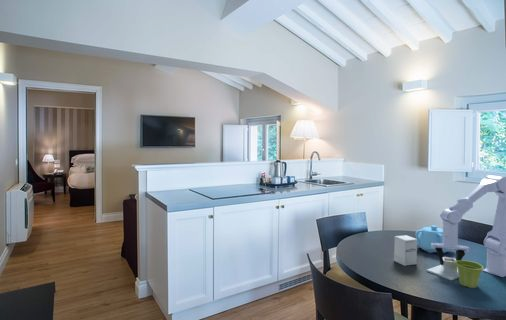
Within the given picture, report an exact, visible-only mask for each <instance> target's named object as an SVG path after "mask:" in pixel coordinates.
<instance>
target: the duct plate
mask: <svg viewBox="0 0 506 320" xmlns="http://www.w3.org/2000/svg"><path fill="white" fill-rule="evenodd" d="M447 261H448V260H447ZM426 272H428V273H430V274H434V275H435V276H439V277H441V278H444V279H446V280H449V281H454V280H457V279H459V274H458V267H457V273H450V272H444V271H443V270H442V268H441V264H439V265H436V266H434V267H430V268H428V269H426Z"/></svg>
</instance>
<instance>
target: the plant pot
mask: <svg viewBox="0 0 506 320" xmlns="http://www.w3.org/2000/svg"><path fill="white" fill-rule="evenodd" d="M456 264H457V267H458V274H459V278H458V282H459V284H460V285H461V286H463V287H467V288H468V289H469V288H470V289H476V288H478V285H479V280H480V278H481V277H480V276H481V273H482V272H483V269H484V266H483V264H480V263H478V262H475V261H471V260H466V259H465V260H463V259H461V260H458V261H456Z"/></svg>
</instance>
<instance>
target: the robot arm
mask: <svg viewBox="0 0 506 320" xmlns="http://www.w3.org/2000/svg"><path fill="white" fill-rule="evenodd" d="M487 193H495V194H496V195H497V196H498V200H497V205H496V210H495V215H494V219H493V225H492V229H491V230H490V231H488V232H487V234H486V237H485V238H484V240H483V245H484V247H485V248H486V251H487V252H486V267H485V268H483V269H482V272H485V273H488V274H491V275H494V276H498V277H501V278H504V277H506V176H499V175H495V174H488V175H486V176H484V178H482V179H481V181H480V183H479V184H478V186H476V187H475V188H474V189H473V190H472V191H471V192H470V193H469V194H468V195H467V196H466V197H460V198H458V199H456V202H454V203H453V204H452V205H450V206H448V208H445V209H443V210H442V211H441V213H440V215H439V216H440V218H441V220H442V229H443V243H431V248H435V249H436V251H437V252H436V254H437V255H438V258H439V259H438V260H439V265H443V257H444V253H443V250H442V249H448V250H449V251H451V250H452V251H455V259H456V261H458V260H463V258H464V256H465V255H466V253H469V252H470V247H469V246H465V245H460V244H458V242H459V241H458V238H459V237H458V235H459V223H461V221H462V218H463V216H464V215H465V214H466V213H467V212H469V211H470V210H471V209H472V208H473V207H474V203H475V202H477V201H478V200H479V199H480V198H483V196H485V195H486V194H487Z"/></svg>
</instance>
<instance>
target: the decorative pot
mask: <svg viewBox="0 0 506 320" xmlns="http://www.w3.org/2000/svg"><path fill="white" fill-rule="evenodd" d="M414 236H415V239H417V246H419V248H420V249H422V250H424V251H425V252H427V253H428V254H429V253H430V254H433V253H437V251H436V249H435V248H431V243H443V228H440V227H438V225H430V226H425V227H422V228H421V229H417V230H416V231H415V235H414ZM442 250H443V254H446V253H447V252H448V253H449V252H450V250H448V249H442Z"/></svg>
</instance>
